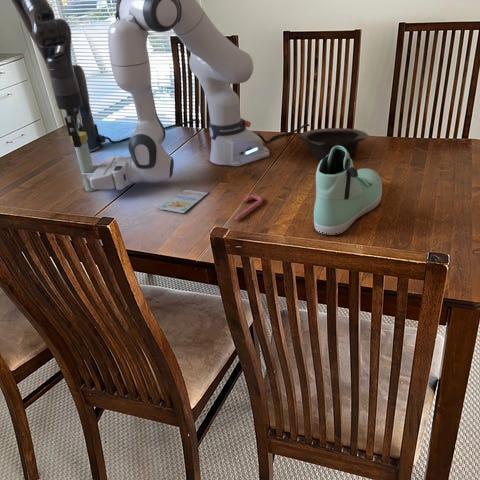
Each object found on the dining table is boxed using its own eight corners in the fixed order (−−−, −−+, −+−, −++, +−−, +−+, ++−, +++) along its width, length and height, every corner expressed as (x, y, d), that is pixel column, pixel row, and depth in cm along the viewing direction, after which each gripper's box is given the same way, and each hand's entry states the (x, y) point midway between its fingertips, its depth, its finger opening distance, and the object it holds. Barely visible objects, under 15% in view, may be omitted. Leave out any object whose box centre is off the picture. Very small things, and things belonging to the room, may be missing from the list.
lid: (86, 136, 158) (84, 130, 156) (89, 141, 154) (87, 134, 153) (70, 140, 156) (68, 133, 155) (73, 144, 152) (71, 137, 151)
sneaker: (389, 187, 148) (396, 123, 138) (356, 242, 123) (361, 168, 112) (346, 181, 154) (350, 119, 144) (306, 232, 129) (307, 161, 118)
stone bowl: (326, 172, 161) (325, 145, 157) (286, 155, 181) (284, 131, 177) (383, 154, 170) (384, 128, 165) (339, 140, 190) (339, 116, 186)
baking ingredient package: (158, 207, 146) (184, 188, 157) (159, 209, 146) (185, 189, 158) (183, 212, 142) (208, 192, 154) (183, 213, 143) (208, 193, 154)
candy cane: (221, 217, 140) (221, 213, 139) (250, 196, 150) (250, 192, 149) (238, 222, 136) (238, 217, 136) (266, 200, 146) (266, 196, 146)
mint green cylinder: (97, 185, 166) (85, 134, 156) (98, 189, 162) (86, 137, 153) (85, 187, 165) (72, 136, 155) (86, 192, 161) (72, 140, 152)
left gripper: (58, 87, 152) (71, 136, 161) (49, 98, 140) (64, 151, 149) (82, 84, 153) (93, 134, 161) (76, 95, 141) (89, 148, 149)
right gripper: (131, 150, 167) (92, 152, 168) (116, 173, 149) (72, 176, 150) (134, 166, 170) (96, 168, 171) (120, 192, 153) (77, 194, 154)
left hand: (79, 142), depth 155 cm, fingers open, 7 cm apart
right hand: (85, 172), depth 161 cm, fingers closed on mint green cylinder, 4 cm apart
